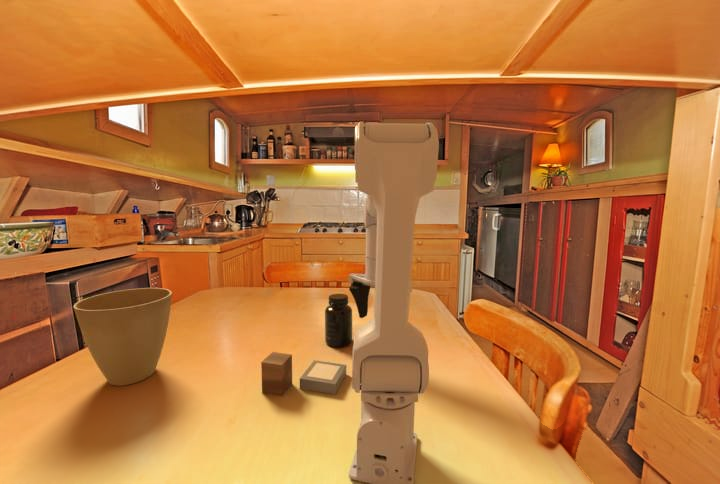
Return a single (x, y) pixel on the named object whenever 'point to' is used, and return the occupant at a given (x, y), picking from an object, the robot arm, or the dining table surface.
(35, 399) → the dining table surface
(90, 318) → the plant pot
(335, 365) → the base tile
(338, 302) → the supplement bottle
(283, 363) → the walnut block
